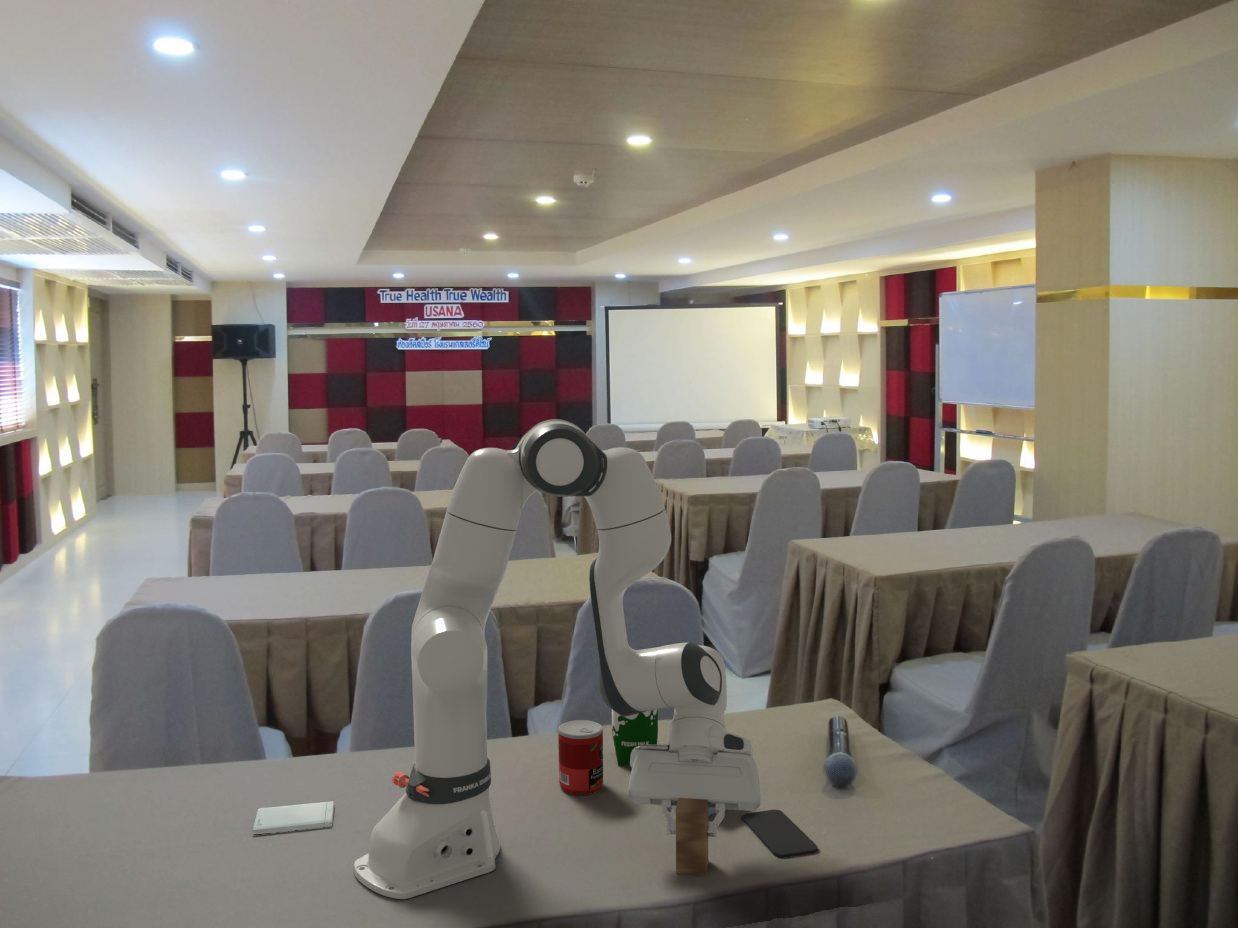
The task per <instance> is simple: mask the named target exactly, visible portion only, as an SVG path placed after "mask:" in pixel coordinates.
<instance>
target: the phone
mask: <svg viewBox="0 0 1238 928" xmlns="http://www.w3.org/2000/svg"><path fill="white" fill-rule="evenodd" d="M741 821H743V823H744V824H745V826H747V827H748V829H749V830H751V832H752V833H753V834H754V835H755V836H756V837H757V838H758V840H760V841H761V843H762V844H763V845H764V846H765V848H767V850H768V851H770V853H771V854H772V855H773V856H774V857H776V858H779V859H786V858H793V857H798V856H806V855H811V854H816V853H817V852H819V848H818V847H819V846H818V845H817V844H816V842H814V841H813V840H812V839H811V838H810V837H809V836H808V835H807V834H806V833H805V832H804V831H803V830H802V829H800V827H799V826H797V824H795V823H794V822H793V821H792V819H790V818H789V817H788V815H786V813H784V812H783V811H782V810H779V809H768V810H761V811H754V812H753V811H752V812H748V813H743V814H742V815H741Z"/></svg>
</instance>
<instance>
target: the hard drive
mask: <svg viewBox="0 0 1238 928" xmlns="http://www.w3.org/2000/svg"><path fill="white" fill-rule="evenodd" d="M334 813H335V801H323V802H322V801H321V802H311V803H303V804H302V803H301V804H291V805H283V806H273V807H272V806H270V807H261V808H260V807H259V808H258V809H257V812H256V815H255V820H254V823H253V826H252V835H253V834H262V833H271V834H277V833H276V832H280V833H288V831H289V832H296V831H295V830H298V831H307V830H313V829H314V830H315V829H324V828H323V827H325V828H332V827H333V822H334ZM331 826H332V827H331ZM306 829H307V830H306ZM273 832H274V833H273ZM262 835H263V834H262Z"/></svg>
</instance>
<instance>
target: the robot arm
mask: <svg viewBox="0 0 1238 928" xmlns="http://www.w3.org/2000/svg"><path fill="white" fill-rule="evenodd" d="M536 492H541V493H542V494H545V495H548V496H552V497H561V498H566V497H584V499H585V500H586V502H587V504H588V506H589V509H590V511H591V514H592V517H593V521H594V524H595V528H596V531H597V538H598V553H597V557H596V558H595V559H594V560H593V561H592V562H591V564H590V568H589V574H588V575H589V581H588V582H589V594H590V602H591V610H592V612H591V613H592V616H593V617H592V618H593V624H594V625H593V626H594V632H595V633H594V634H595V640H596V641H595V642H596V649H597V655H598V684H599V685H598V687H599V693H600V696H601V699H602V701H603V702H604V703H605V704H606V705H607V706H608V707H609V708H610V709H611V711H612V710H614V711H615V712H617V713H618V714H620V715H622V716H629V715H634V714H638V713H642V712H646V711H650V710H657V709H658V710H664V709H672V708H673V717H672V719H671V721H670V725H669V726H670V730H669V742H668V743H669V744H661V743H660V744H658V743H657V744H656V745H650V744H641V746H638V747H636V748H634V749H633V750H632V752H631V756H630V765H629V766H630V768H631V772H630V776H629V781H628V789H627V792H628V796H629V797H628V798H629V799H630V800H631V801H632V803H634V804H635V805H636V804H637V805H647V806H648V805H651V806H660V807H661V811H662V814H663V816H664V818H665V821H666V822H667V826H666V832H667V835H675V836H676V819H675V818H674V819H673V818H672V815H671V813H672V810H673V809H672V808H673V807H676V806H677V801H678V798H690V799H707V800H708V808H715V809H716V813H715V816H714V817H715V818H714V819H713V820H712V821H708V822H707V837H708V838H709V837H711V838H717V837H718V827H719V826H720V824H721V823H722V821H723V819H725V817H726V810H732V811H733V810H735V811H750V812H751V811H752V812H753V811H754V812H756V811H757V809H758V808H760V806H761V800H762V799H761V783H760V775H759V769H758V765H757V763H756V761H755V759H754V748H753V744H752V741H751V740H750V739H748V738H746V737H743V736H740V735H739V734H738V735H737V734H735V733H733V732H729V731H727V728H726V724H725V718H724V717H725V714H726V713H725V712H726V709H727V703H728V686H727V685H728V684H727V674H726V673H727V671H726V665H725V662H724V658H723V656H722V655H721V653H719V651H717V650H716V649H714V648H712V647H710V646H707V645H701V644H697V643H695V642H691V641H690V642H678V643H672V644H666V645H661V646H657V647H651V648H650V647H649V648H644V649H633V648H632V647H631V646H630V645H629V643H628V642H629V641H628V635H627V627H626V620H625V619H626V618H625V613H624V610H625V609H624V602H623V601H624V595H625V593H626V591H627V589H628V588H629V587H630V586H632V585H633V584H635V583H636V582H637V581H640V580H641V579H642V578H643V577H645V576H647V575H648V574H650V573H651V572H652V571H653V570H655V569H656V568H657V567H658V566H659V565H660V564H661V563H662V562H663V561H664V560H665V558H666V556H667V555H668V552H669V550H670V547H671V544H672V532H671V526H670V522H669V518H668V514H667V511H666V507H665V504H664V500H663V497H662V496H661V493H660V490H659V487H658V484H657V482H656V479H655V477H654V475H653V472H652V471H651V469H650V467H649V465H648V463H647V461H646V459H645V457H644V456H643V455H642V453H640V451H638V450H636V449H634V448H630V447H624V446H623V447H621V446H620V447H613V448H612V447H611V448H609V449H605V450H604V449H601V448H600V447H598V446H597V444H595V443H594V442H593V441H592V440H591V438H589V437H588V435H586V433H585V431H583V429H581V428H580V426H578V425H576V424H574V423H573V422H570V421H568V420H565V419H560V418H559V419H558V418H553V419H546V420H542V421H539V422H538V423H536V424H535V425H533V426H532V427H530V429H528V430H527V431H526V432H525V434H523V436H522V437H520V439H518V440H517V442H515V443H514V444H513V446H510V448H509V449H503V448H498V447H483V448H479V449H477V450H474V451H472V453H470V454H469V456H468V457H467V459H466V460H465V463H464V465H463V467H462V468H461V470H460V472H459V475H458V477H457V479H456V483H455V485H454V487H453V490H452V493H451V495H450V497H449V501H448V505H447V508H446V511H445V514H444V519H443V523H442V525H441V530H440V534H439V536H438V540H437V545H436V547H435V550H434V554H433V557H432V561H431V565H430V568H429V569H428V574H427V577H426V580H425V581H424V582H425V583H424V585H423V588H422V592H421V594H420V599H419V601H418V605H417V608H416V611H415V614H414V618H413V621H412V625H411V643H410V645H411V649H410V652H411V654H410V656H411V659H410V660H411V679H412V680H411V682H412V683H411V684H412V685H411V686H412V706H413V707H412V709H413V732H414V733H413V734H414V736H413V740H414V764H413V766H412V769H411V771H410V774H409V775H408V774H404V773H403V772H401V771H396V772H395V773H394V774H393V776H392V780H391V781H392V784H393V785H395V786H398V787H399V788H400V789H401V788H402V789H404V788H405V793H404V794H403V795H402V796H401V797H400V798H399V800H397V802H396V803H395V804H394V805H393V806H392V807H391V809H390V810H389V811H388V812H387V813H386V814H385V815H384V816H383V817H382V818H381V820H379V822H378V823H377V824H376V825H375V826H374V827H373V829H372V832H371V834H370V839H369V846H368V853H366V854H364V855H362V856H361V857H359V858H358V859H355V860H354V863H353V875H354V876H355V878H356V879H357V880H358V882H360V883H361V885H364V886H365V887H366V888H368V889H370V890H371V891H373V892H374V893H377V894H379V895H381V896H384V897H388V898H391V899H398V900H407V899H410V898H414V897H417V896H420V895H422V894H426V893H429V892H432V891H435V890H438V889H442V888H444V887H447V886H451V885H454V884H456V883H460V882H462V881H466V880H469V879H472V878H476V877H478V876H481V875H485V874H488V873H491V872H492V871H494V870H495V869H496V857H497V856H498V855H499V852H500V850H501V843H500V840H499V838H498V834H497V831H496V827H495V822H494V817H493V812H492V807H491V798H490V785H491V784H492V772H491V769H492V768H491V760H490V758H489V757H488V737H487V736H488V732H487V728H488V727H487V703H488V702H487V701H488V644H487V641H486V636H485V630H486V624H487V621H488V618H489V615H490V611H491V609H492V606H493V604H494V601H495V598H496V595H497V594H498V590H499V588H500V586H501V584H502V582H503V580H504V579H505V578H504V577H505V573H506V570H507V567H508V562H509V559H510V558H511V557H510V556H511V552H512V549H513V545H514V542H515V538H516V534H517V530H518V528H519V522H520V520H521V516H522V512H523V510H524V507H525V506H526V503H527V501H528V499H529V498H530V497H531V496H532V495H534V493H536ZM638 749H641V750H638Z"/></svg>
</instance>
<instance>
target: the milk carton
mask: <svg viewBox="0 0 1238 928" xmlns="http://www.w3.org/2000/svg"><path fill="white" fill-rule="evenodd" d="M658 731H659V709H657V710H650V711H646V712H642V713H638V714H634V715H629V716H622V715H620V714H618V713H617V712H615V711H614V710H612V709H611V733H612V740H613V744H614V751H615V755H616V761H617V766H618V767H619V766H621V767H622V766H630V756H631V752H632V750H633V749H634V748H636V747H638V746H641V744H650V745H656V744H658V736H659V732H658ZM638 750H641V749H638Z"/></svg>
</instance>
